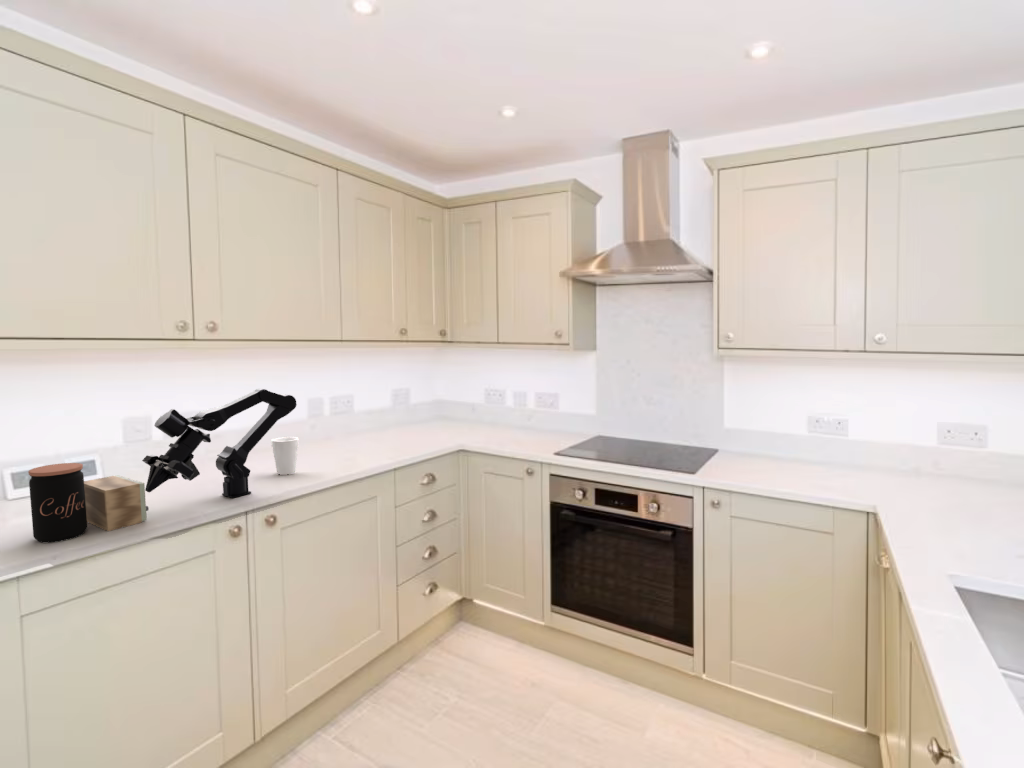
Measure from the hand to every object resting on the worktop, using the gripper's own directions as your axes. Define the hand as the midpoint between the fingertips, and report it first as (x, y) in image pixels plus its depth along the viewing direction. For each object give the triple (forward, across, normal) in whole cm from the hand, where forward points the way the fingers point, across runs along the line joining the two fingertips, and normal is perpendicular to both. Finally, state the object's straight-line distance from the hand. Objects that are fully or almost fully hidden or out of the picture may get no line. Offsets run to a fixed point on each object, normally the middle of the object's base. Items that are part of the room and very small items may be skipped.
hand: (147, 491), depth 152 cm
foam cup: (-30, +9, -42) cm, 53 cm away
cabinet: (+10, +3, +1) cm, 11 cm away
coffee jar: (+19, +2, +9) cm, 21 cm away
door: (+7, +4, -3) cm, 8 cm away
